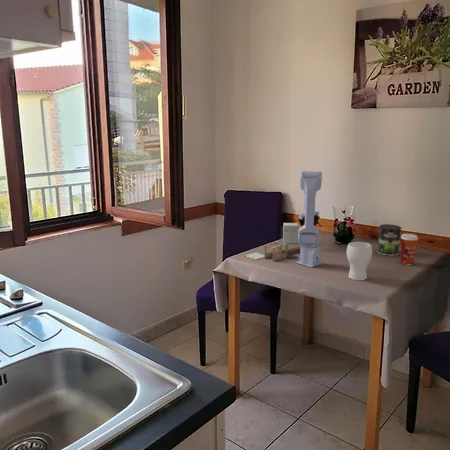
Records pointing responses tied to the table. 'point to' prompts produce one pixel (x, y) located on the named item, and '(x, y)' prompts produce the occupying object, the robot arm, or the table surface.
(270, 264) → the table surface
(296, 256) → the mat
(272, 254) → the wooden ladder stand
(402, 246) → the paper cup
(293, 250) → the rod
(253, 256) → the pad
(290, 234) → the small box
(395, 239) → the coffee can
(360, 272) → the cup
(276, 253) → the cylinder
